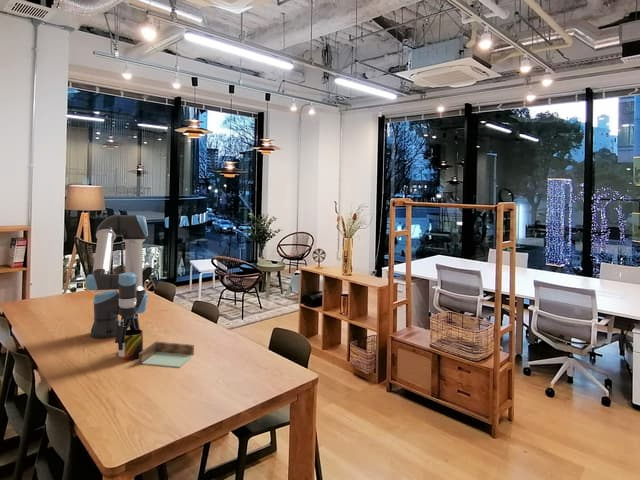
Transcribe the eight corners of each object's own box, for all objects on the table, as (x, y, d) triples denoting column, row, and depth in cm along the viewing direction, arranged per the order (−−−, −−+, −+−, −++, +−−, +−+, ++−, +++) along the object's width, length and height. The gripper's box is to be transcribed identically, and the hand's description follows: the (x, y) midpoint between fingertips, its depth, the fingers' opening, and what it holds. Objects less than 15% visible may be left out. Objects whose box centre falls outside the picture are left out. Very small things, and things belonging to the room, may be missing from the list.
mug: (120, 351, 206) (120, 327, 205) (146, 353, 205) (146, 330, 203) (107, 358, 197) (107, 334, 196) (135, 361, 195) (135, 336, 194)
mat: (142, 364, 193) (142, 363, 193) (157, 352, 206) (157, 351, 206) (179, 367, 191) (179, 366, 191) (192, 356, 204) (192, 354, 204)
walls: (138, 364, 193) (138, 353, 192) (155, 351, 208) (155, 341, 208) (179, 367, 191) (179, 357, 190) (194, 354, 206) (194, 344, 206)
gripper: (121, 313, 187) (121, 361, 189) (147, 300, 209) (147, 344, 211) (105, 312, 187) (106, 360, 190) (133, 299, 209) (133, 343, 212)
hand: (128, 352), depth 200 cm, fingers closed on mug, 10 cm apart
